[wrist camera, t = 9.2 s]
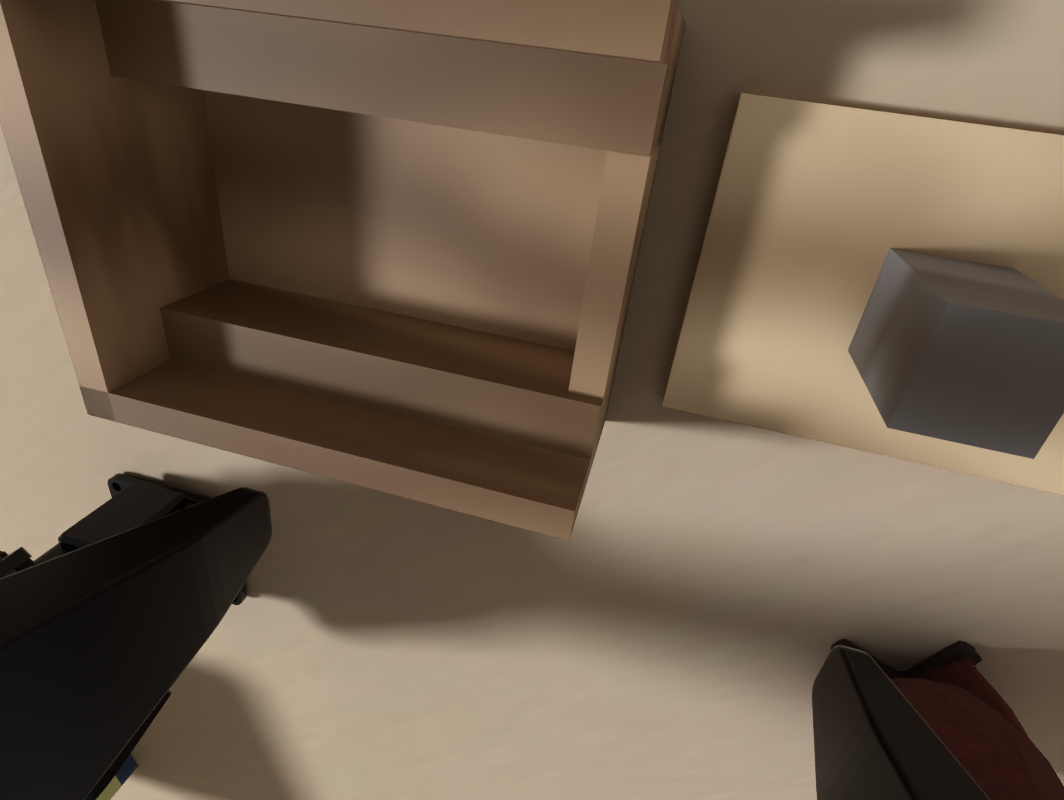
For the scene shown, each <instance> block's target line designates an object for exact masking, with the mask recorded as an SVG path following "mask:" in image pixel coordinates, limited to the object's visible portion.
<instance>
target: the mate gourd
mask: <svg viewBox="0 0 1064 800" xmlns="http://www.w3.org/2000/svg"><path fill="white" fill-rule="evenodd" d="M837 645H842V646H846V647H850V648H854V649H857V650H861V651H864V650H863V649H861V648H860V647H858V646H857V645H855V644H853V643H851V642H850V641H848V640H846V639H842V640H839V641H838V642H836V643H835V644H833V645H832V646H831V650H832V649H833V648H834V647H835V646H837ZM864 652H866V651H864ZM866 653H867V654H869V653H868V652H866ZM869 655H870V656H871V657H872V658H873V659H874V661H875V662H876V663H877V664H878V665H879V667H880V668H881V669H882V670H883V671H884V673H885V674H886V675H887V676H888V677H889V679H890V680H891V681H892V682H893V683H894V685H895V686H896V687H897V688H898V689H899V691H900V692H901V693H902V694H903V695H904V697H905V698H906V699H907V700H908V701H909V703H910V704H911V705H912V706H913V707H914V709H915V710H916V711H917V712H918V713H919V715H920V716H921V717H922V718H923V719H924V721H925V722H926V723H927V724H928V725H929V727H930V728H931V729H932V730H933V731H934V733H935V734H936V735H937V736H938V737H939V739H940V740H941V741H942V742H943V743H944V745H945V746H946V747H947V748H948V749H949V751H950V752H951V753H952V754H953V755H954V757H955V758H956V759H957V760H958V761H959V763H960V764H961V765H962V766H963V767H964V769H965V770H966V771H967V772H968V773H969V775H970V776H971V777H972V778H973V779H974V781H975V782H976V783H977V784H978V785H979V787H980V788H981V789H982V790H983V791H984V793H985V794H986V795H987V796H988V797H989V799H990V800H1064V786H1063V784H1062V783H1061V781H1060V779H1059V778H1058V776H1057V774H1056V773H1055V771H1054V769H1053V768H1052V766H1051V765H1050V763H1049V762H1048V760H1047V759H1046V758H1045V757H1044V756H1043V754H1042V753H1041V752H1040V751H1039V750H1038V748H1037V747H1036V746H1035V745H1034V744H1033V742H1032V741H1031V740H1030V739H1029V737H1028V736H1027V734H1026V732H1025V731H1024V729H1023V727H1022V726H1021V724H1020V722H1019V721H1018V719H1017V717H1016V716H1015V714H1014V712H1013V711H1012V709H1011V708H1010V707H1009V706H1008V704H1007V703H1006V702H1005V701H1004V700H1003V698H1002V697H1001V696H1000V695H999V694H998V692H997V691H996V690H995V689H994V688H993V687H992V686H991V685H990V684H989V683H988V681H987V680H986V679H985V678H984V677H983V676H982V675H981V673H980V672H979V671H978V670H977V669H976V667H975V666H974V665H976V664H977V663H979V662H980V661H981V660H982V659H981V657H980V656H979V655H978V653H977V652H976V650H975V648H974V647H972V646H970V645H969V644H967V643H966V642H963V641H958V642H956V643H954V644H952V645H950V646H948V647H946V648H944V649H943V650H941V651H939V652H938V653H936V654H934V655H932V656H931V657H929V658H927V659H926V660H924V661H922V662H920V663H919V664H917V665H915V666H913V667H911V668H909V669H908V670H906V671H897V670H895V669H893V668H892V667H890V666H888V665H886V664H885V663H883V662H882V661H880V660H879V659H877V658H875V657H874V656H872V655H871V654H869Z"/></svg>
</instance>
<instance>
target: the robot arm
mask: <svg viewBox="0 0 1064 800" xmlns="http://www.w3.org/2000/svg"><path fill="white" fill-rule="evenodd" d="M108 486H109V489H110V493H111V496H112V499H110V500H109V501H107V502H106V503H105V504H103V505H102V506H100V507H99V508H97V509H96V510H95V511H93V512H92V513H90V514H89V515H88V516H86V517H85V518H83V519H82V520H80V521H79V522H78V523H76V524H75V525H73V526H72V527H70V528H69V529H68V530H66V531H65V532H63V533H62V534H61V535H60V536H59V537H58V541H59V543H58V544H57V545H56V546H54V547H53V548H51V549H50V550H49V551H47V552H46V553H44V554H43V555H42V556H40V557H39V558H37V559H36V560H35V561H32V560H31V559H30V557H32V556H31V555H30V554H29V553H28V552H27V551H26V550H25V549H24V548H23V547H20V548H19V549H17V550H15V551H14V552H12V553H11V554H9V555H8V554H7V553H6V552H5V551H4V552H2V551H0V800H96V799H97V798H98V797H99V795H100V794H101V793H102V792H103V791H104V790H105V788H106V787H107V786H108V785H109V783H110V782H111V781H112V779H113V778H114V777H115V775H116V774H117V772H118V771H119V769H120V768H121V766H122V765H123V763H124V762H125V761H126V759H127V758H128V756H129V755H130V753H131V752H132V750H133V749H134V747H135V746H136V744H137V743H138V742H139V740H140V739H141V737H142V736H143V734H144V733H145V731H146V730H147V728H148V727H149V725H150V724H151V723H152V721H153V720H154V718H155V717H156V715H157V714H158V712H159V711H160V709H161V708H162V707H163V705H164V704H165V702H166V701H167V699H168V698H169V696H170V695H171V693H172V692H171V691H170V690H169V689H170V687H171V686H172V685H173V683H174V682H175V681H176V680H177V678H178V677H179V676H180V674H181V673H182V672H183V670H184V669H185V668H186V667H187V665H188V664H189V663H190V661H191V660H192V659H193V657H194V656H195V655H196V654H197V652H198V651H199V650H200V648H201V647H202V646H203V644H204V643H205V642H206V640H207V639H208V638H209V636H210V635H211V634H212V632H213V631H214V630H215V628H216V627H217V626H218V624H219V623H220V621H221V620H222V618H223V617H224V615H225V614H226V612H227V610H228V609H229V607H230V606H231V604H234V605H240V604H241V603H242V601H243V600H244V599H245V598H246V596H247V594H246V588H245V581H246V580H247V578H248V577H249V575H250V573H251V572H252V570H253V569H254V567H255V565H256V564H257V562H258V560H259V559H260V557H261V556H262V554H263V552H264V551H265V549H266V548H267V546H268V544H269V542H270V539H271V534H272V526H271V517H270V507H269V499H268V497H267V495H266V494H265V493H263V492H260V491H257V490H253V489H249V488H238V489H235V490H233V491H230V492H227V493H225V494H222V495H219V496H217V497H214V498H211V499H209V498H206V497H202V496H199V495H195V494H191V493H188V492H184V491H181V490H177V489H173V488H170V487H166V486H163V485H159V484H156V483H152V482H148V481H145V480H141V479H138V478H134V477H130V476H127V475H123V474H116V475H115V476H113V477H112V478H110V479H109V480H108ZM812 708H813V729H814V750H815V771H816V791H817V800H990V799H989V797H988V796H987V795H986V794H985V793H984V791H983V790H982V789H981V788H980V787H979V785H978V784H977V783H976V782H975V781H974V779H973V778H972V777H971V776H970V775H969V773H968V772H967V771H966V770H965V769H964V767H963V766H962V765H961V764H960V763H959V761H958V760H957V759H956V758H955V757H954V755H953V754H952V753H951V752H950V751H949V749H948V748H947V747H946V746H945V745H944V743H943V742H942V741H941V740H940V739H939V737H938V736H937V735H936V734H935V733H934V731H933V730H932V729H931V728H930V727H929V725H928V724H927V723H926V722H925V721H924V719H923V718H922V717H921V716H920V715H919V713H918V712H917V711H916V710H915V709H914V707H913V706H912V705H911V704H910V703H909V701H908V700H907V699H906V698H905V697H904V695H903V694H902V693H901V692H900V691H899V689H898V688H897V687H896V686H895V685H894V683H893V682H892V681H891V680H890V679H889V677H888V676H887V675H886V674H885V673H884V671H883V670H882V669H881V668H880V667H879V665H878V664H877V663H876V662H875V661H874V659H873V658H872V657H871V656H870V655H869V654H867V653H866V652H864V651H861V650H857V649H854V648H850V647H846V646H842V645H837V646H835V647H834V648H833V649H832V650H831V651H830V653H829V655H828V657H827V659H826V661H825V662H824V664H823V666H822V668H821V670H820V671H819V673H818V675H817V677H816V679H815V681H814V684H813V689H812Z"/></svg>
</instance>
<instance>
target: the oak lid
mask: <svg viewBox="0 0 1064 800" xmlns="http://www.w3.org/2000/svg"><path fill="white" fill-rule="evenodd" d="M662 406H663V407H667V408H672V409H676V410H681V411H685V412H690V413H694V414H699V415H704V416H708V417H713V418H717V419H722V420H726V421H731V422H735V423H740V424H744V425H749V426H753V427H758V428H762V429H767V430H772V431H776V432H781V433H785V434H790V435H794V436H799V437H803V438H808V439H812V440H817V441H821V442H826V443H830V444H835V445H840V446H844V447H849V448H853V449H858V450H862V451H867V452H871V453H876V454H880V455H885V456H889V457H894V458H898V459H903V460H908V461H912V462H917V463H921V464H926V465H930V466H935V467H939V468H944V469H948V470H953V471H957V472H962V473H966V474H971V475H976V476H980V477H985V478H989V479H994V480H998V481H1003V482H1007V483H1012V484H1016V485H1021V486H1025V487H1030V488H1034V489H1039V490H1044V491H1048V492H1053V493H1057V494H1062V495H1064V135H1059V134H1052V133H1044V132H1037V131H1029V130H1021V129H1014V128H1006V127H998V126H991V125H983V124H975V123H968V122H960V121H953V120H945V119H937V118H930V117H922V116H914V115H907V114H899V113H891V112H884V111H876V110H868V109H861V108H853V107H846V106H838V105H830V104H823V103H815V102H807V101H800V100H792V99H784V98H777V97H769V96H761V95H754V94H746V93H740V97H739V101H738V105H737V109H736V113H735V117H734V121H733V125H732V129H731V133H730V136H729V140H728V144H727V148H726V152H725V156H724V160H723V164H722V168H721V172H720V176H719V180H718V184H717V188H716V192H715V196H714V200H713V204H712V208H711V212H710V215H709V219H708V223H707V227H706V231H705V235H704V239H703V243H702V247H701V251H700V255H699V259H698V263H697V267H696V271H695V275H694V279H693V283H692V287H691V291H690V294H689V298H688V302H687V306H686V310H685V314H684V318H683V322H682V326H681V330H680V334H679V338H678V342H677V346H676V350H675V354H674V358H673V362H672V366H671V370H670V373H669V377H668V381H667V385H666V389H665V393H664V397H663V404H662Z"/></svg>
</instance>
